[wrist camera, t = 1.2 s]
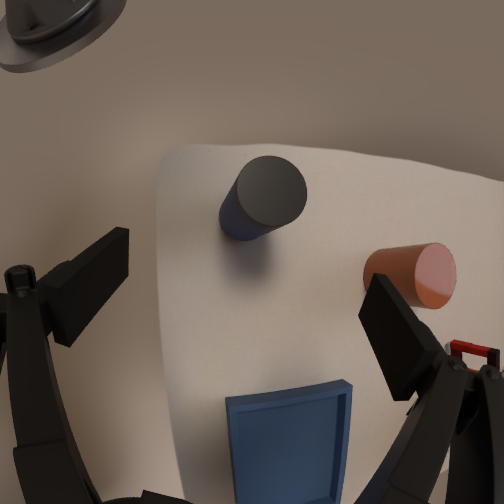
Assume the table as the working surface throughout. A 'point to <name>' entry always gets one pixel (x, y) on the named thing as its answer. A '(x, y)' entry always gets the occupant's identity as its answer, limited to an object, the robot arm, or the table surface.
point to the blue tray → (290, 444)
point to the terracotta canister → (416, 273)
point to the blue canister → (263, 198)
